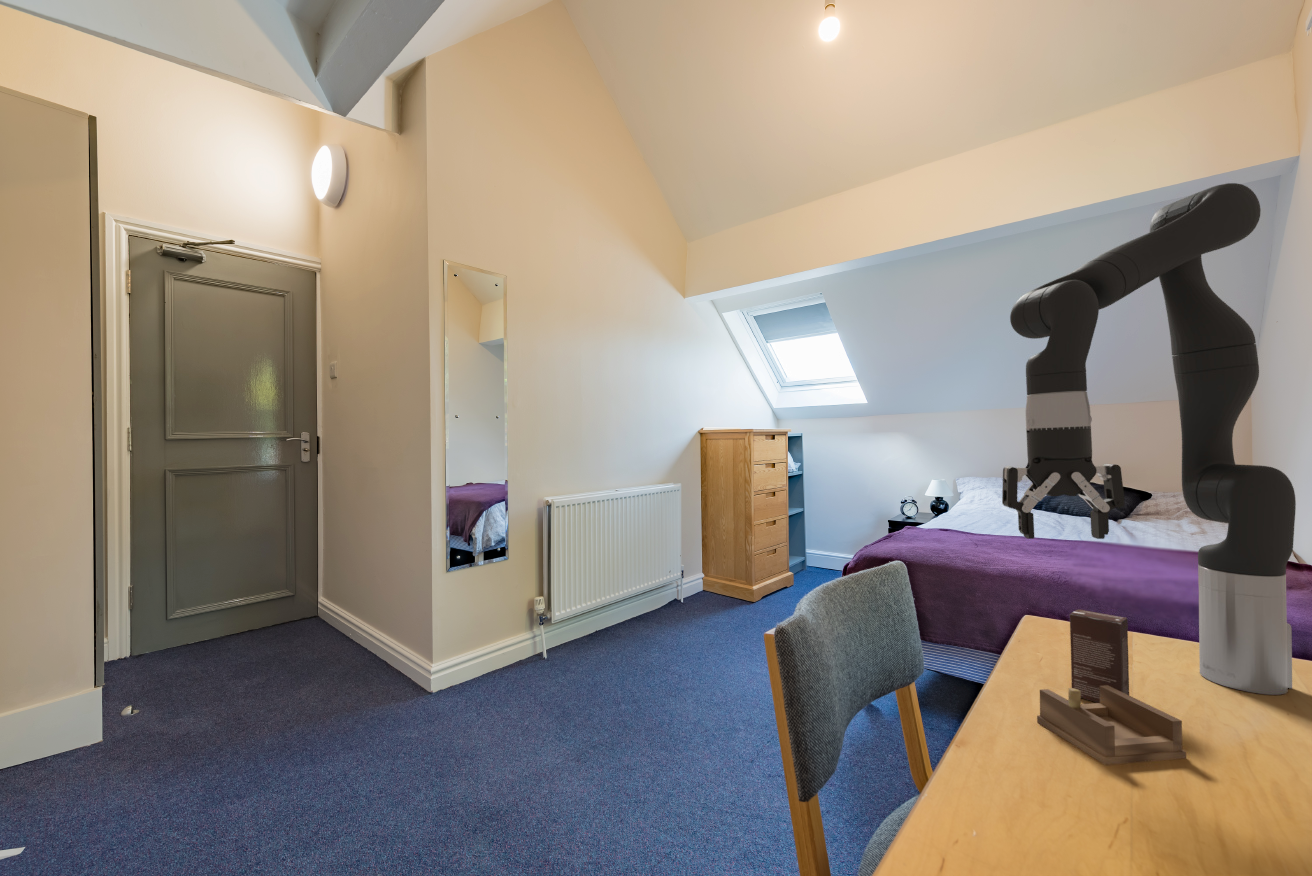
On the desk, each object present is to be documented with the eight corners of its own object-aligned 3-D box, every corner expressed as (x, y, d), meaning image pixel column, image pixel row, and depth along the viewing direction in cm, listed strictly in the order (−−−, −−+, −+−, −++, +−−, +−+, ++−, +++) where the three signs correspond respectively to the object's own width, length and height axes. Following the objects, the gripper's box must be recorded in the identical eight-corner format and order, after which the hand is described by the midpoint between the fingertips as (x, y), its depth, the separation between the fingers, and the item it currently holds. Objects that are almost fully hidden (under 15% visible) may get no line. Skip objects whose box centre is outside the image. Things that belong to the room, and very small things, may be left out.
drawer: (1108, 717, 74) (1107, 669, 74) (1186, 760, 64) (1185, 704, 64) (1037, 723, 73) (1036, 673, 73) (1105, 766, 63) (1104, 709, 63)
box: (1130, 701, 79) (1129, 616, 79) (1122, 711, 76) (1121, 623, 76) (1078, 687, 83) (1077, 607, 83) (1069, 696, 80) (1068, 613, 80)
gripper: (1103, 423, 81) (1108, 533, 81) (993, 427, 85) (998, 533, 85) (1131, 422, 74) (1137, 543, 74) (1010, 427, 78) (1015, 542, 77)
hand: (1062, 537), depth 79 cm, fingers open, 8 cm apart
